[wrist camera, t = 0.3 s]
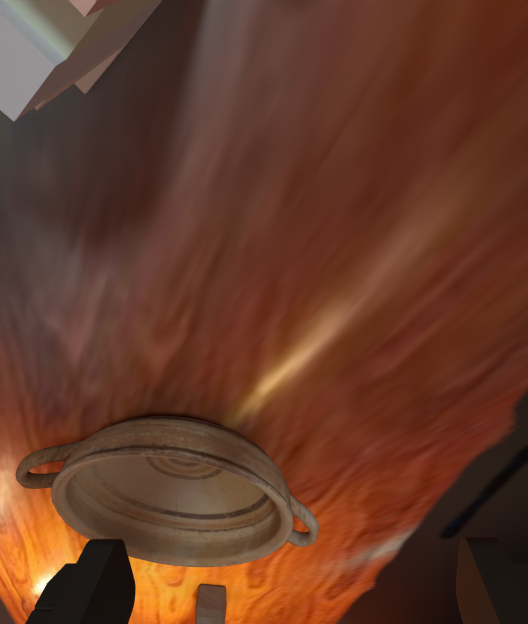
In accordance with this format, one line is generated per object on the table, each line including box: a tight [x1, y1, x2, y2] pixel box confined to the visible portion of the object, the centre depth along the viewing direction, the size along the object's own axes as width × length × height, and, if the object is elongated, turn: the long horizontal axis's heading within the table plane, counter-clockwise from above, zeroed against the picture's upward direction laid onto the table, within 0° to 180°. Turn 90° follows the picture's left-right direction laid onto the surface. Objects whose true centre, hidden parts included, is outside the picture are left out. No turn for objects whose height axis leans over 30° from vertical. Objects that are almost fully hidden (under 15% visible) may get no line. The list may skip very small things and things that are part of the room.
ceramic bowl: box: [16, 416, 319, 567], centre depth 59 cm, size 37×29×10 cm
